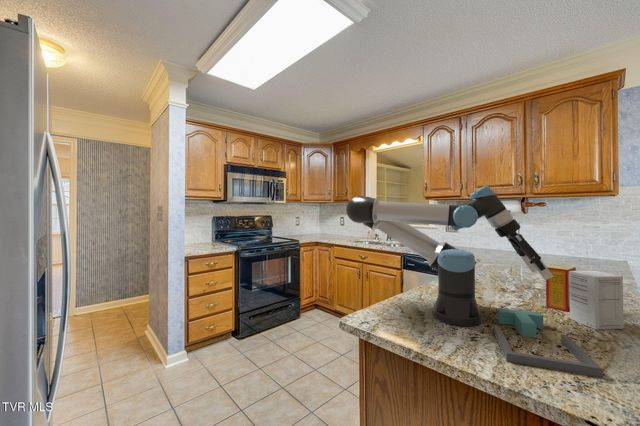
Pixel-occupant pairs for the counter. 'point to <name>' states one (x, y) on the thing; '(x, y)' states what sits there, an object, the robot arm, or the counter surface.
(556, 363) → the frame
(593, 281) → the supplement box
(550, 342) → the counter surface
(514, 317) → the t block
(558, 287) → the baking soda box
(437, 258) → the robot arm
